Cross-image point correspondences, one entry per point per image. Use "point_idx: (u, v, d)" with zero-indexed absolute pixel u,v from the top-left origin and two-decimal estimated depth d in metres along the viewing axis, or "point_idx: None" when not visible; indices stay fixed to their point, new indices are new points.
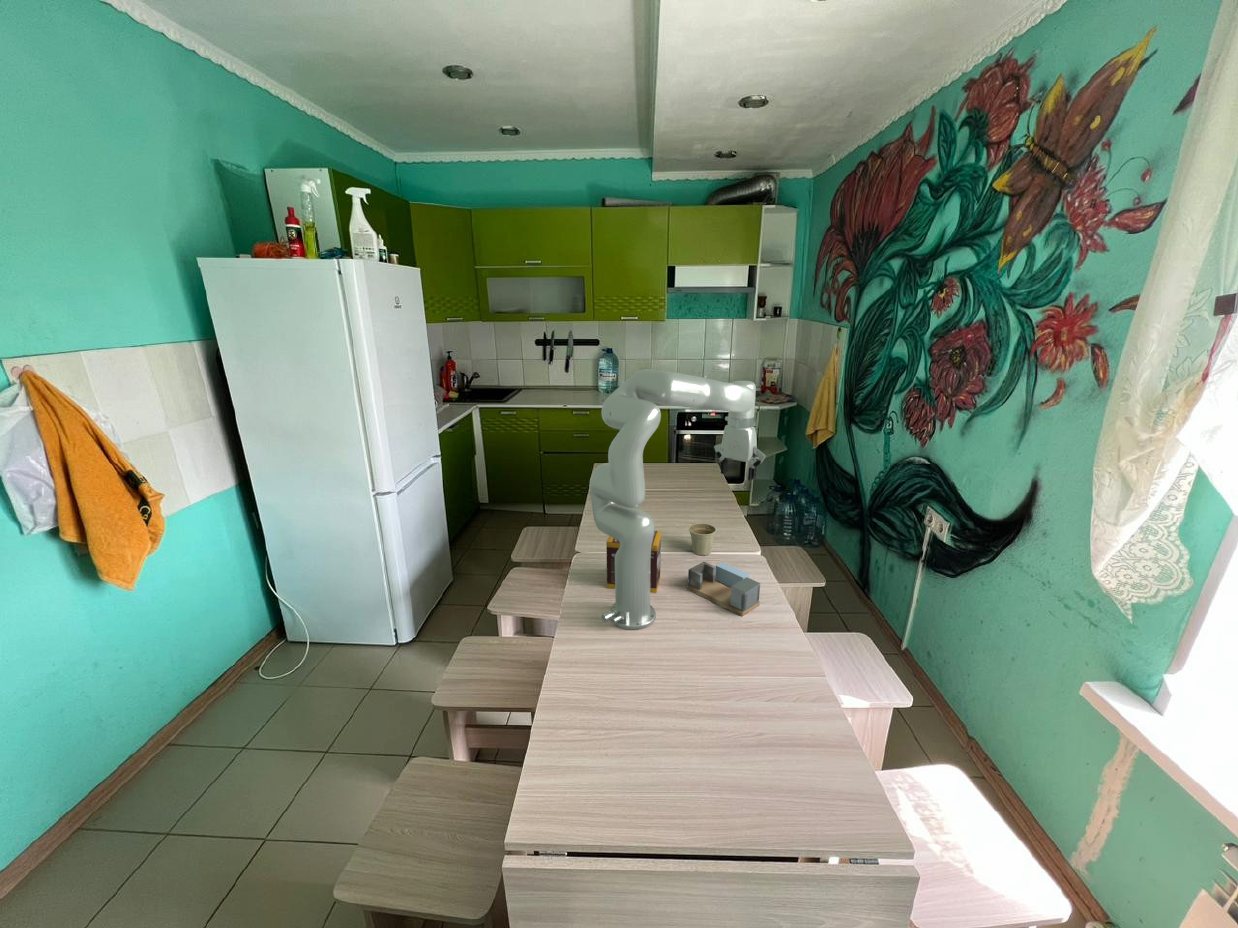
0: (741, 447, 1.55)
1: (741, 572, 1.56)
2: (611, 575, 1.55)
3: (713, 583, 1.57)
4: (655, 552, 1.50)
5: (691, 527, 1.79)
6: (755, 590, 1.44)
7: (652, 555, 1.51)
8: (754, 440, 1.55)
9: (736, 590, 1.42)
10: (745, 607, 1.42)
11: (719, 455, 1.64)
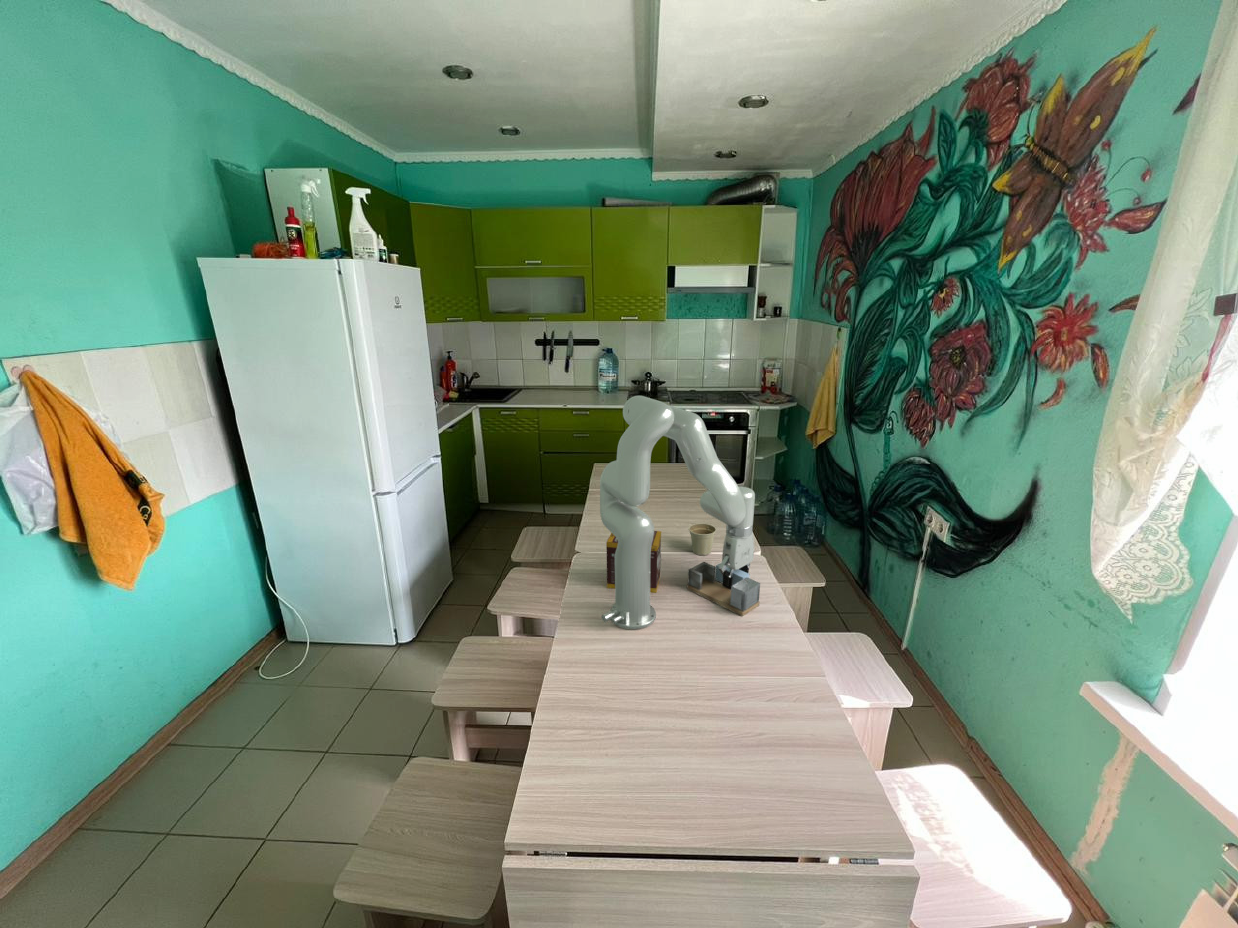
0: (750, 550, 1.53)
1: (741, 572, 1.56)
2: (611, 575, 1.55)
3: (713, 583, 1.57)
4: (655, 552, 1.50)
5: (691, 527, 1.79)
6: (755, 590, 1.44)
7: (652, 555, 1.51)
8: None
9: (736, 590, 1.42)
10: (745, 607, 1.42)
11: (727, 573, 1.51)
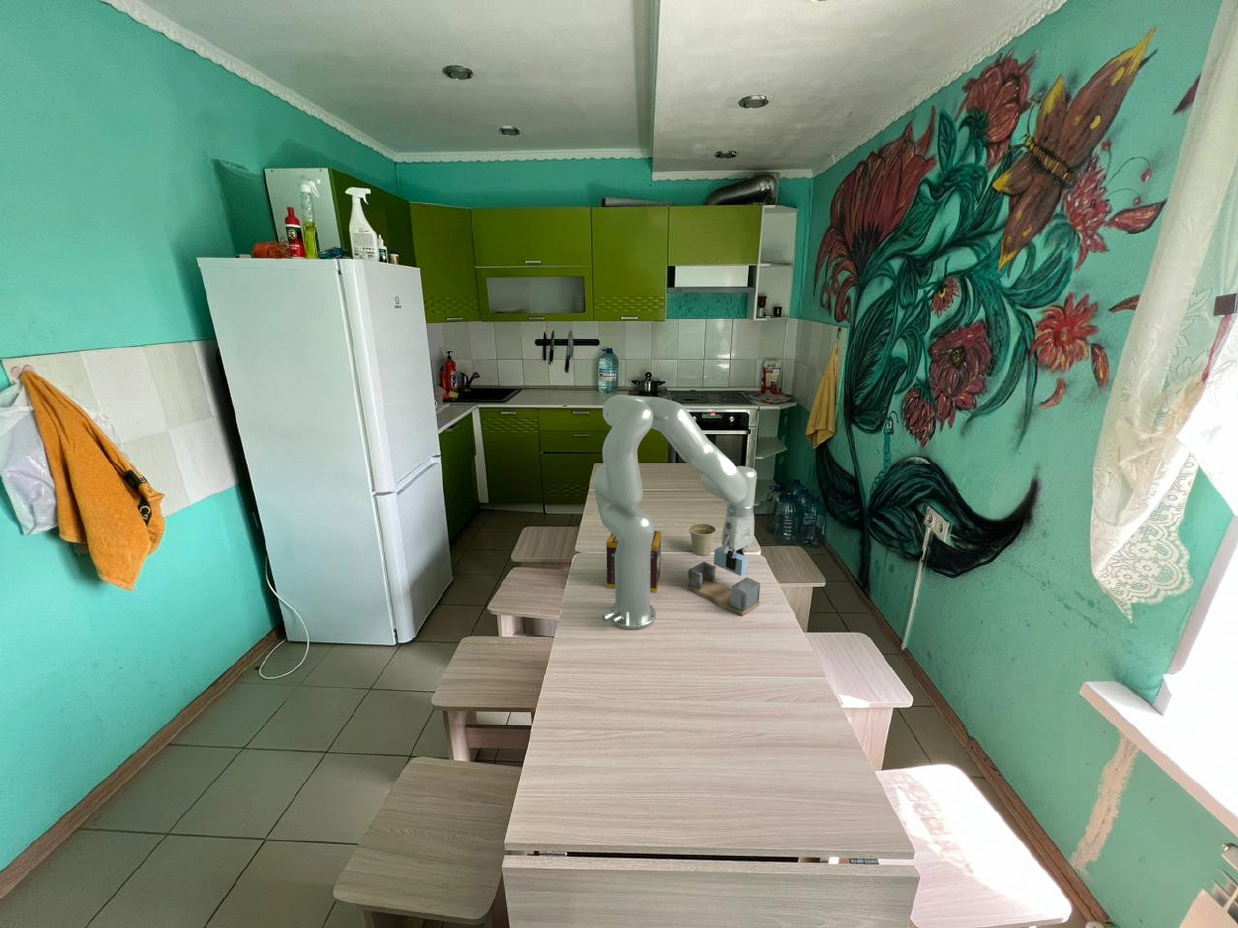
0: (750, 531, 1.52)
1: (740, 556, 1.54)
2: (611, 575, 1.55)
3: (713, 583, 1.57)
4: (655, 552, 1.50)
5: (691, 527, 1.79)
6: (755, 590, 1.44)
7: (652, 555, 1.51)
8: None
9: (736, 590, 1.42)
10: (745, 607, 1.42)
11: (731, 553, 1.51)
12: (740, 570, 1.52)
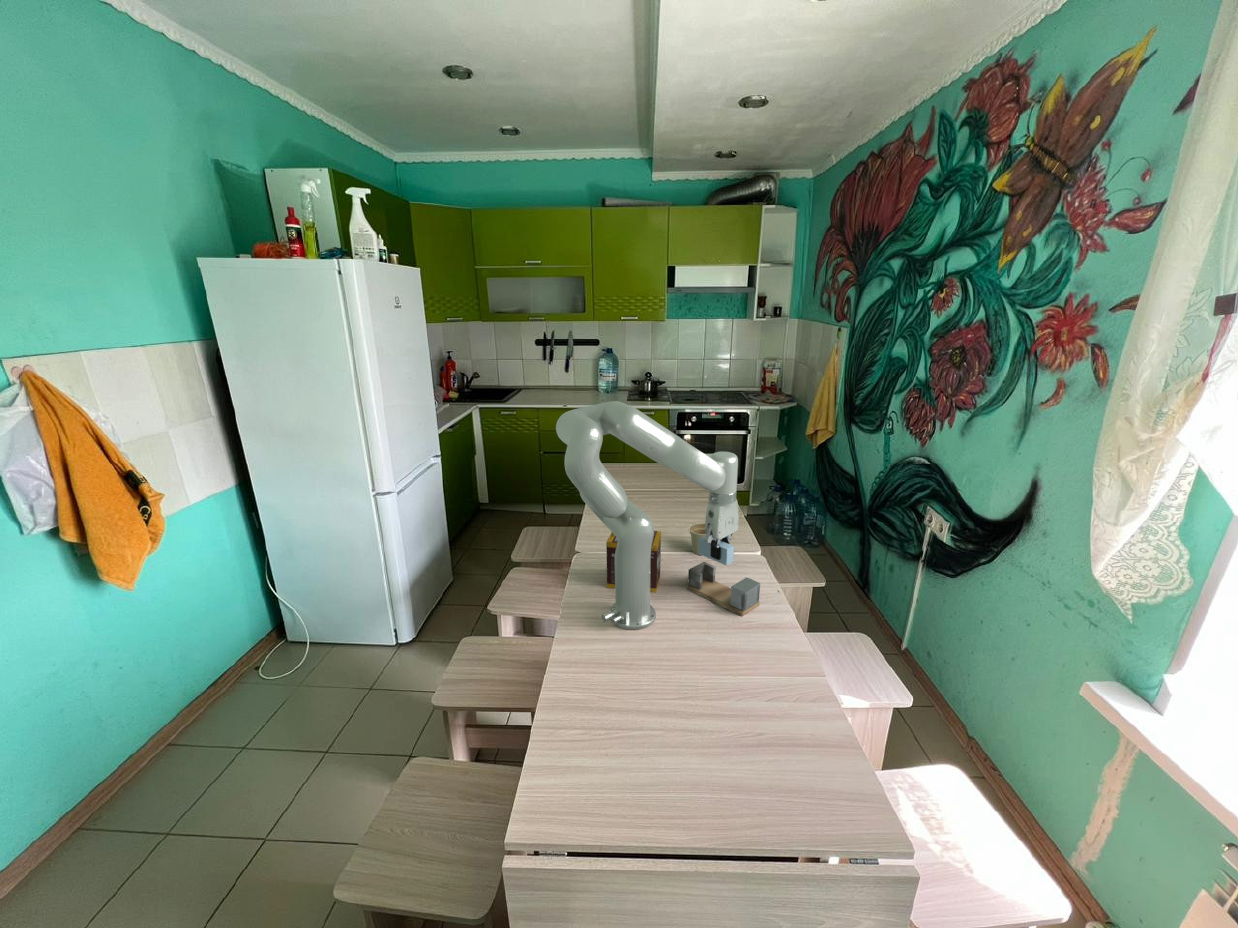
0: (734, 519, 1.46)
1: (725, 544, 1.48)
2: (611, 575, 1.55)
3: (713, 583, 1.57)
4: (655, 552, 1.50)
5: (691, 527, 1.79)
6: (755, 590, 1.44)
7: (652, 555, 1.51)
8: None
9: (736, 590, 1.42)
10: (745, 607, 1.42)
11: (715, 542, 1.45)
12: (725, 559, 1.46)
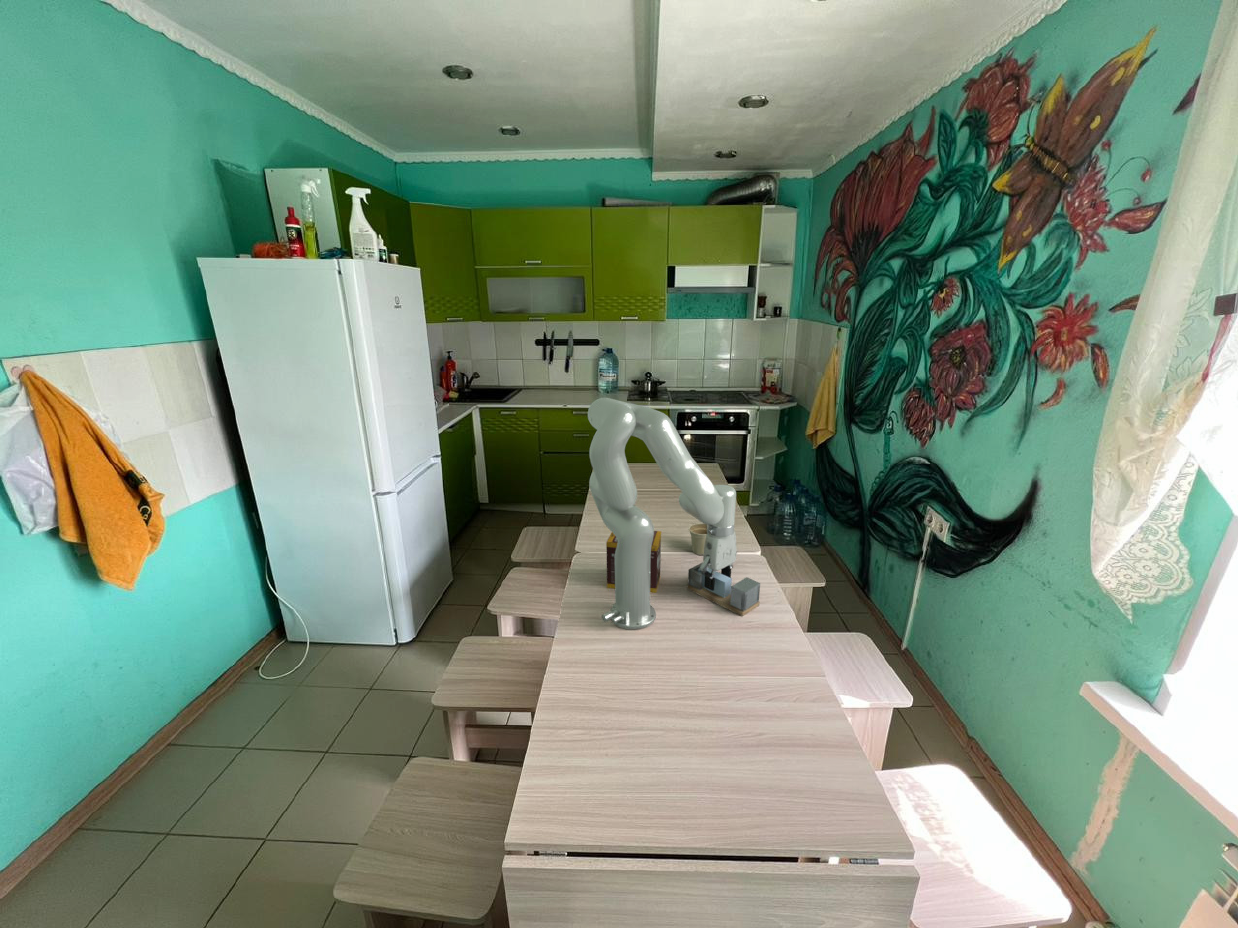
0: (732, 550, 1.48)
1: (723, 577, 1.50)
2: (611, 575, 1.55)
3: None
4: (655, 552, 1.50)
5: (691, 527, 1.79)
6: (755, 590, 1.44)
7: (652, 555, 1.51)
8: None
9: (736, 590, 1.42)
10: (745, 607, 1.42)
11: (708, 574, 1.46)
12: (723, 592, 1.49)
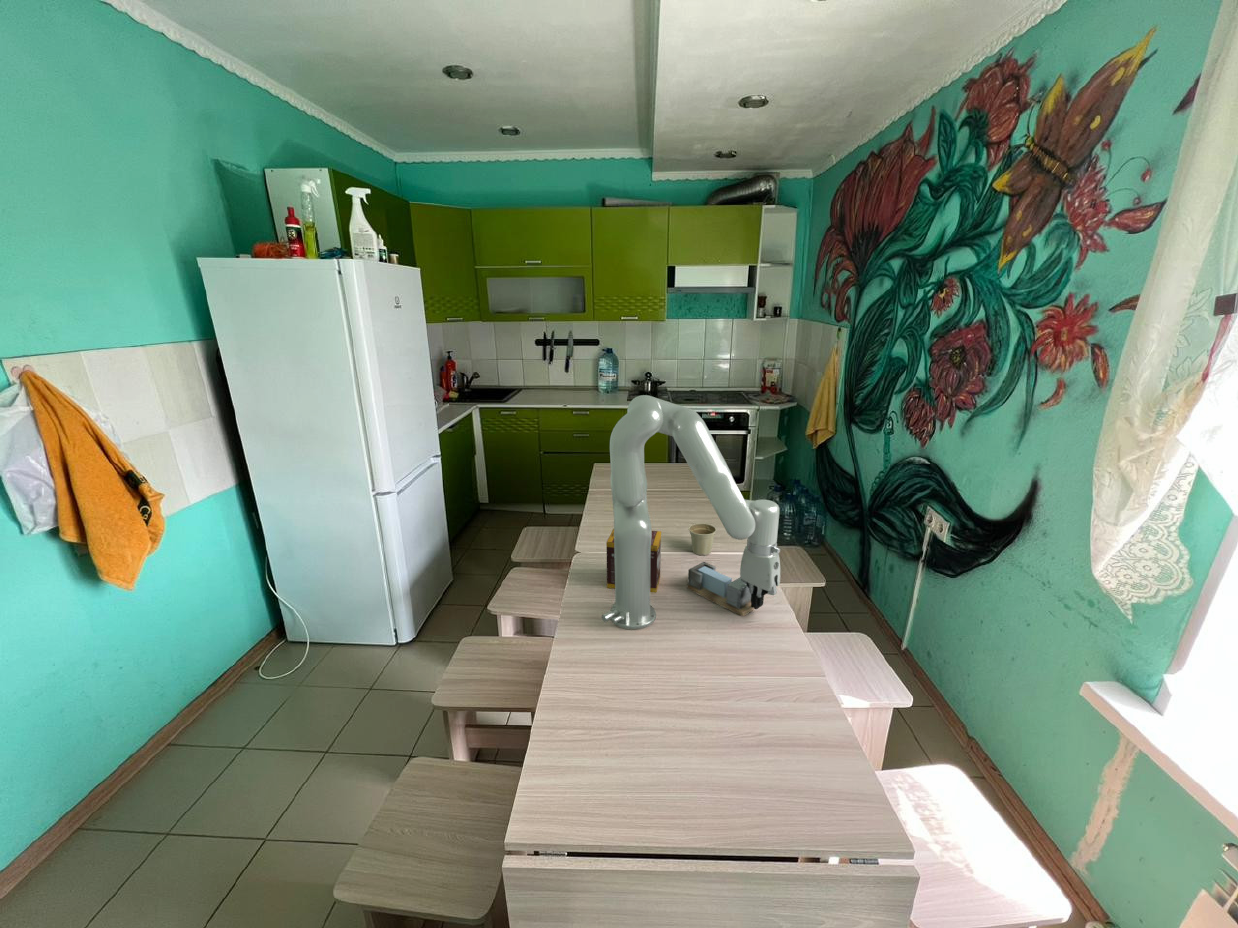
0: None
1: (723, 577, 1.50)
2: (611, 575, 1.55)
3: None
4: (655, 552, 1.50)
5: (691, 527, 1.79)
6: None
7: (652, 555, 1.51)
8: None
9: (732, 588, 1.43)
10: (741, 605, 1.43)
11: None
12: (723, 592, 1.49)
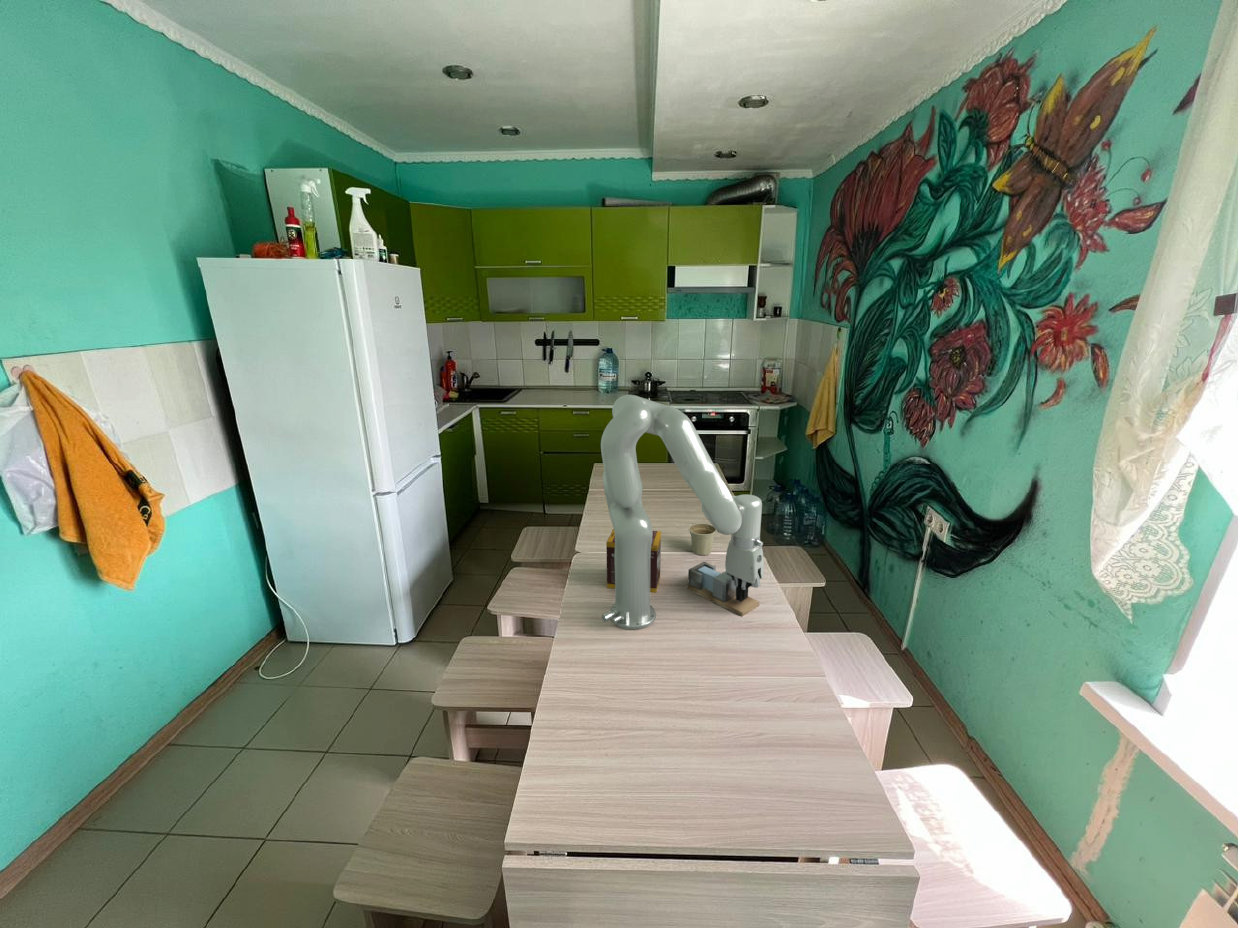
0: None
1: None
2: (611, 575, 1.55)
3: None
4: (655, 552, 1.50)
5: (691, 527, 1.79)
6: None
7: (652, 555, 1.51)
8: None
9: (718, 581, 1.47)
10: (726, 598, 1.47)
11: None
12: None
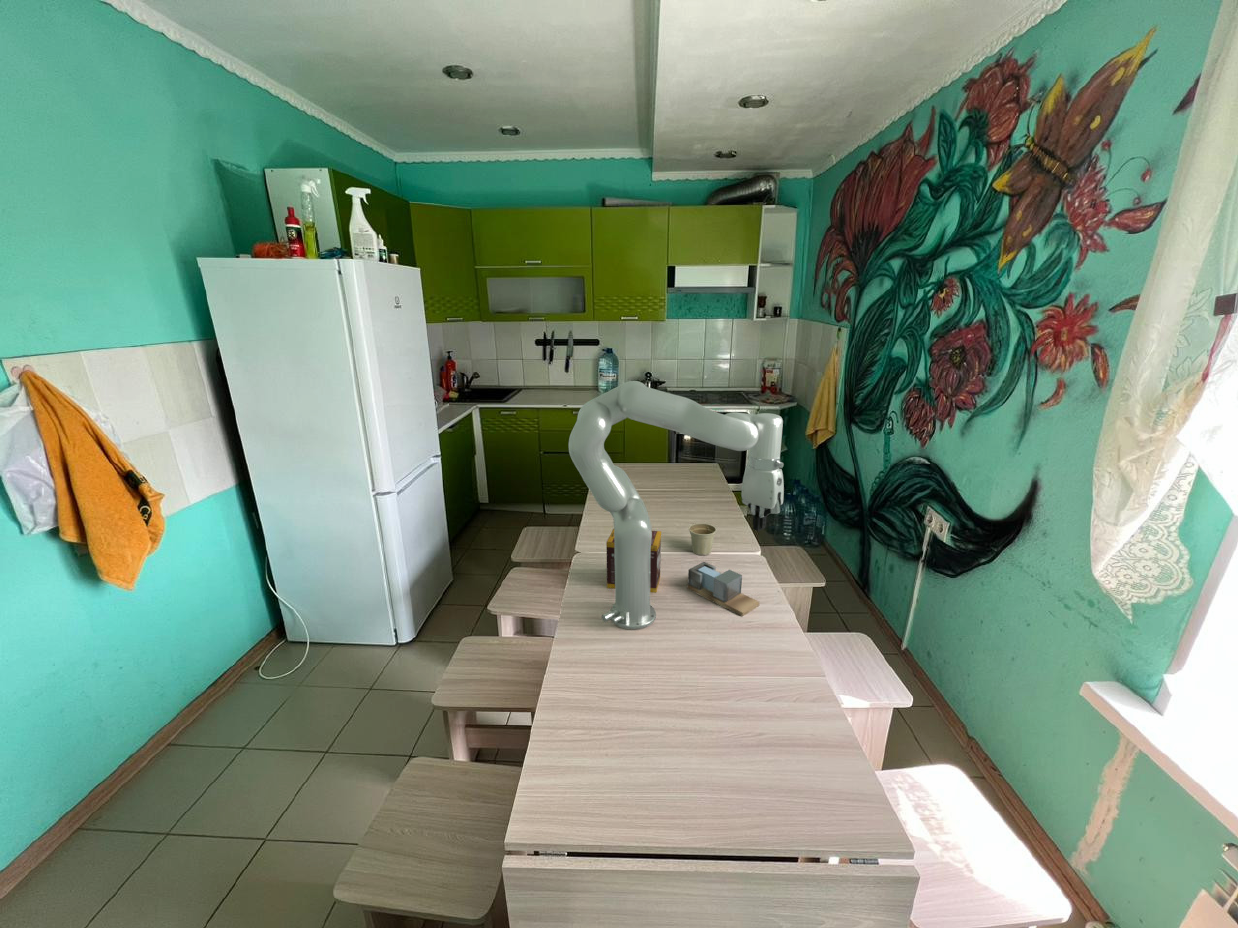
0: None
1: None
2: (611, 575, 1.55)
3: None
4: (655, 552, 1.50)
5: (691, 527, 1.79)
6: (737, 582, 1.48)
7: (652, 555, 1.51)
8: None
9: (718, 582, 1.47)
10: (727, 598, 1.47)
11: None
12: None
